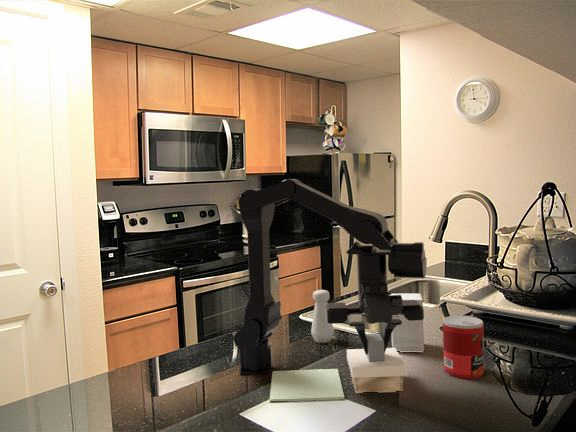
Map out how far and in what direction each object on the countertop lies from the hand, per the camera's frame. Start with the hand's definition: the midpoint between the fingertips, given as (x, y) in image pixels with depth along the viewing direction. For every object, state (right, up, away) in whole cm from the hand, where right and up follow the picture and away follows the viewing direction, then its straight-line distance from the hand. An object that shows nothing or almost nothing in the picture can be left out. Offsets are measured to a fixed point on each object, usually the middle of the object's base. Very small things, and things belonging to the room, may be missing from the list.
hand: (374, 353), depth 98 cm
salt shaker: (-8, -5, +28) cm, 30 cm away
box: (0, -6, 0) cm, 6 cm away
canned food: (+19, -5, +4) cm, 20 cm away
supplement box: (+12, -5, +20) cm, 24 cm away
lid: (0, -3, 0) cm, 3 cm away
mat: (-14, -7, +1) cm, 15 cm away
